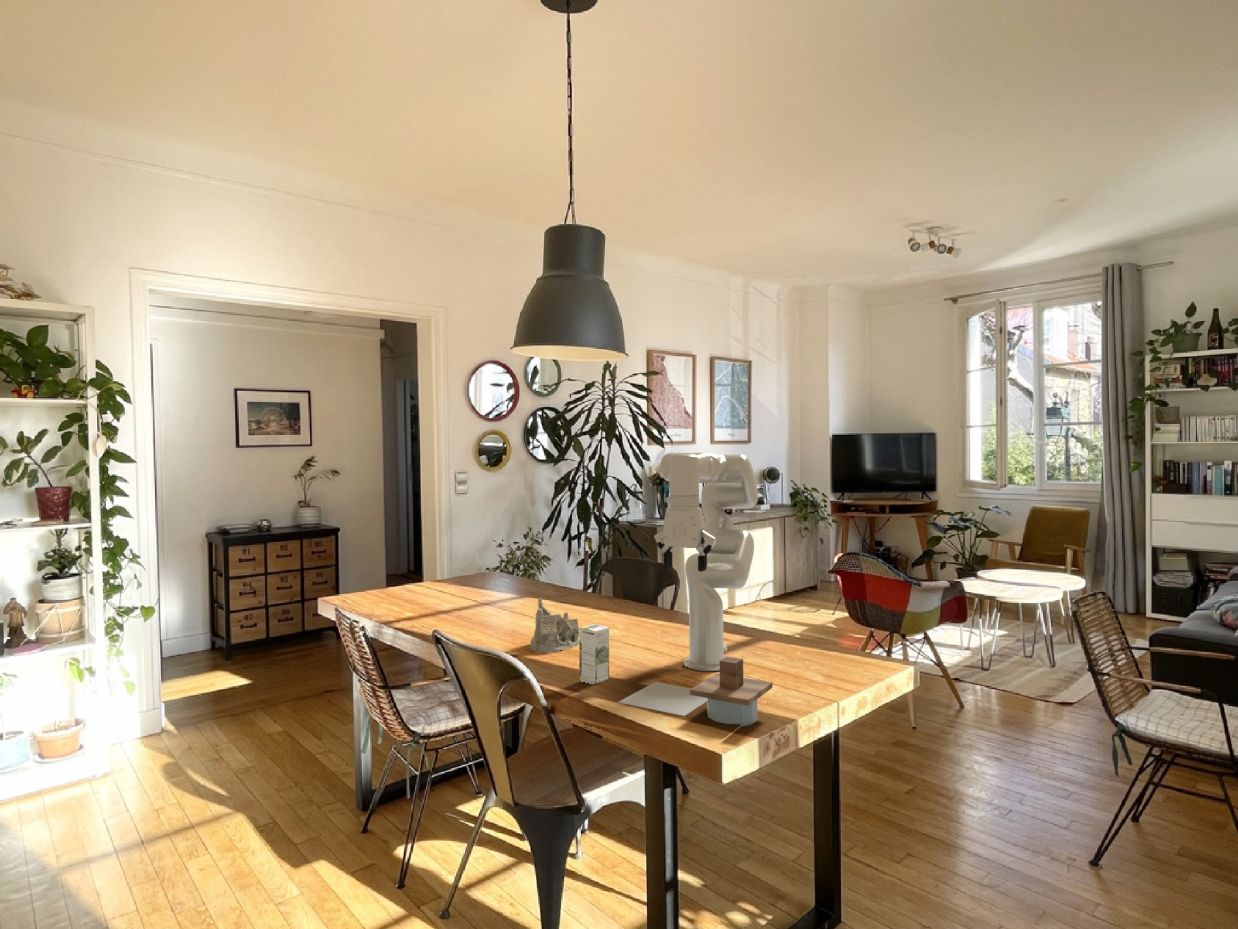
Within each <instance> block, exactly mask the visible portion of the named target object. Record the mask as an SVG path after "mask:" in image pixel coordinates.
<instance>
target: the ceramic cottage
mask: <svg viewBox="0 0 1238 929" xmlns="http://www.w3.org/2000/svg"><path fill="white" fill-rule="evenodd" d="M537 604H538V605H537V607H538V609H537V610H536V613H535V629H534V633H533V637H531V640H530V645H531V646H530V650H532V651H534V652H533V653H535V652H538V653H537V654H549V653H548V652H554V653H557V652H556V651H560V650H563V651H565V649H566V648H569V647H572V648H574V646H575V647H578V646H579V645H578V644H579V629H580V627H579V621H578V618H573V619H572V618H569V612H566V611H565V612H564V613H563V616H562V615H561V614H560V613H559V614H558V613H557V614H552V612H551V611H549V610H548V609H547V608H546V607H545V605H544V602H543V599H542V598H541V597H539V598H537ZM577 645H578V646H577ZM569 649H570V648H569ZM566 650H567V649H566ZM532 651H531V652H532ZM540 652H541V653H540ZM560 652H561V651H560Z"/></svg>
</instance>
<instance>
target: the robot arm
mask: <svg viewBox="0 0 1238 929" xmlns="http://www.w3.org/2000/svg"><path fill="white" fill-rule="evenodd" d="M659 470H660V471H659V472H660V475H661V477H662V478H663V479H664V480H665V481H667V482H668V483H669V485H668V486H669V495H668V496H667V497H665V500H664V501H665V503H668V505H669V506H668V507H666V508H665V514H664V522H663V530H661V531H660V532H658V533H656V534H654V536H653V537H654V539H655V540H654V541H655V542H656V544H657V546H658V548H659V549H660V552H661V553H662V554H663V555H662V556H663V561H662V562H663V566H664V569H667V570H668V569H670V568H673V551H672V549H673V548H684V549H694V548H695V549H696V551H697V552H698V553H693V554H691V555H689V557H687V559H686V561H685V566H684V571H685V572H684V573H685V577H686V582H687V590H688V591H687V592H688V620H689V621H688V622H689V623H688V626H689V628H688V630H689V632H688V635H689V639H688V641H689V645H688V646H689V657H686V658H685V659H684V660H683V665H684V666H685V667H686V668H687V667H688V669H691V670H694V671H698V672H699V671H700V672H716V671H720V660H722V659H723V658H725V657H724V655H725V654H724V653H725V652H727V651H728V646H727V645H726V644H724V604H723V603H724V602H723V600H722V597H721V595H719V593H718V592H717V590H716V589H732V590H739V589H742V588H744V587H745V586H746V585H747V582H748V578H749V575H750V570H751V567H752V562H753V559H754V552H755V542H754V537H753V535H752V534H751V532H749V531H748V530H744V529H737V528H736V529H735V528H734V525H735V524H734V522H733V520H732V518H731V517H730V516H729V515H728V514H727V513H726V512H725V511H724V510H725V509H728V510H729V509H730V510H731V509H732V510H737V509H739V510H751V509H752V508H754V507H755V506H757V503H758V502H759V501H758V500H759V491H758V486H757V481H756V477H755V473H754V468H753V466H752V463H751V461H750V459H749V458H748V456H747V455H745V454H741V453H739V454H720V453H718V454H715V453H709V452H670V453H669V452H668V453H665V454H664V455H663V456H662V458H661V460H660V463H659ZM700 484H704V485H703V487H702V489H701V493H700ZM700 494H701V496H700ZM700 499H701V507H700ZM723 509H724V510H723Z"/></svg>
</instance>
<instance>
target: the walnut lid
mask: <svg viewBox="0 0 1238 929" xmlns="http://www.w3.org/2000/svg"><path fill="white" fill-rule="evenodd" d="M772 689H773V682H770V681H766V680H759V679H753V678H747V677H744V658H740V657H732V656H725V657H724V658H723V659H722V660H720V670H719V673H717V672H716V673H715V674H714V675H712V676H710V677H708V678H707V679H705V680H703V681H702V682H700V683H698V684H697V685H695V686H694V687H692V688H691V689H690V695H694V696H699V697H704V698H710V699H715V700H720V701H726V702H731V703H736V704H741V705H747V706H749V705H750V704H751V703H753V702H754V701H755V700H757V701H758V699H759V698H761V697H762V696H763V695H765V694H766V693H767V692H769V691H770V690H772Z"/></svg>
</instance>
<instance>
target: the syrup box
mask: <svg viewBox="0 0 1238 929" xmlns="http://www.w3.org/2000/svg"><path fill="white" fill-rule="evenodd" d="M578 640H579V645H578V646H579V649H578V650H579V652H578V653H579V656H578V657H579V660H578V662H579V664H578V665H579V666H578V670H579V673H578V674H579V680H578V681H579V682H580V681H581V682H580V683H583V682H585V683H584V684H587V683H589V684H588V685H591V684H592V685H594V684H595V685H597V684H598V683H602V682H605V681H606V680H609V679H610V627H608V626H605V625H603V624H599V623H598V624H597V623H596V624H595V623H594V624H593V623H592V624H590V625H586V626H583V627H579V637H578Z"/></svg>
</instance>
